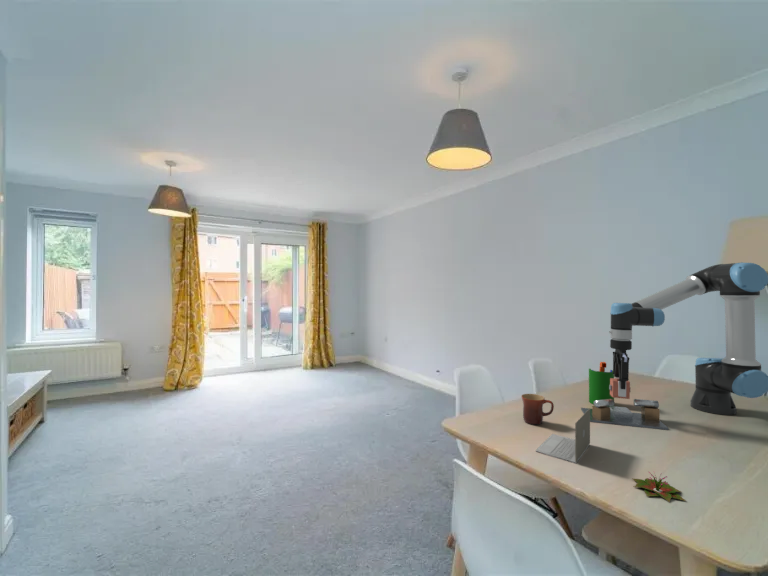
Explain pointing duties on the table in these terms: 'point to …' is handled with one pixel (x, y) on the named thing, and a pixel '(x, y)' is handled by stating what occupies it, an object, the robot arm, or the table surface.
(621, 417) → the base plate
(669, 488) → the lily flower
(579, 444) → the laptop
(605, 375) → the motor
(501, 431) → the table surface
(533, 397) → the mug
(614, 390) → the block
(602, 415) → the shaft
